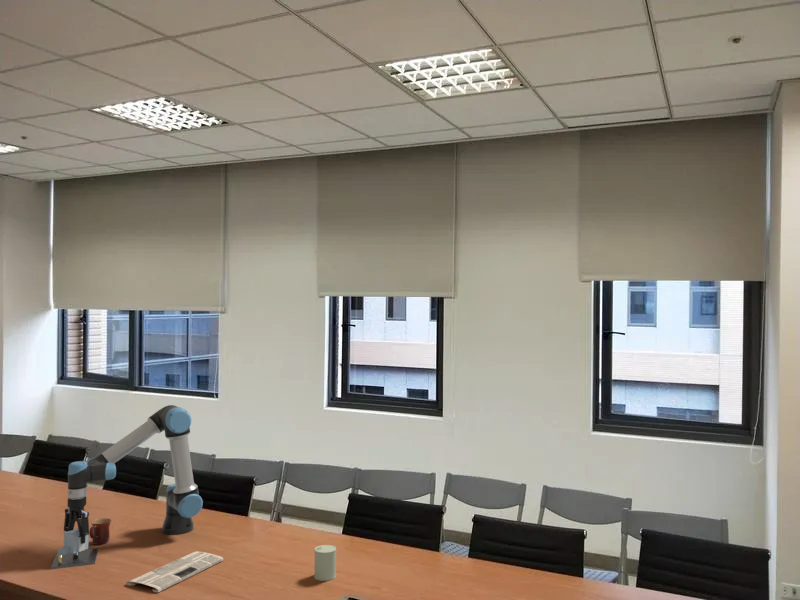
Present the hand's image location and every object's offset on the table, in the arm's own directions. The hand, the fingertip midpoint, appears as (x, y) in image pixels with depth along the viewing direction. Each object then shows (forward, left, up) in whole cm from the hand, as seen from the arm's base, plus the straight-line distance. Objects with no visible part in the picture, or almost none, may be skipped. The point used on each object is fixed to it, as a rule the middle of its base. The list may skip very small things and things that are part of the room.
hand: (75, 549), depth 278 cm
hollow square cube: (+2, +1, 0) cm, 2 cm away
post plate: (0, 0, -5) cm, 5 cm away
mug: (-8, -18, -5) cm, 20 cm away
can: (-99, +58, -5) cm, 115 cm away
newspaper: (-41, +31, -5) cm, 52 cm away
